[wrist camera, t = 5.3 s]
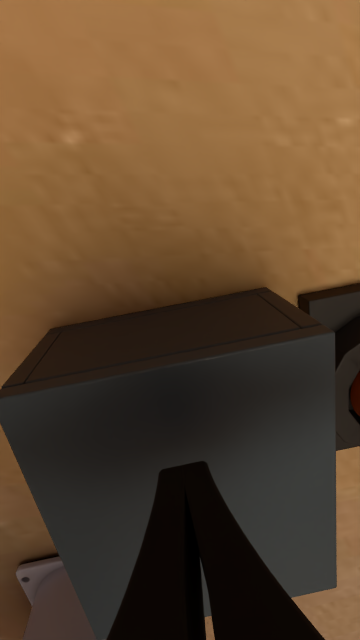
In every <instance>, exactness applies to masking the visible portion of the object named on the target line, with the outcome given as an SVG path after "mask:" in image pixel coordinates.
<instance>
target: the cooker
mask: <svg viewBox="0 0 360 640" xmlns="http://www.w3.org/2000/svg"><path fill="white" fill-rule="evenodd" d="M319 325H322V324H321V323H320V322H319V321H317V320H316V319H314V318H313V317H311V316H310V315H308V314H306V313H305V312H303V311H302V310H300V309H299V308H297V307H296V306H294V305H293V304H291V303H289V302H288V301H286V300H285V299H283V298H282V297H280V296H279V295H277V294H276V293H274V292H272V291H271V290H270V289H268V288H261V289H255V290H250V291H245V292H240V293H235V294H230V295H224V296H219V297H214V298H209V299H204V300H199V301H194V302H188V303H183V304H178V305H173V306H168V307H163V308H157V309H152V310H147V311H142V312H137V313H132V314H127V315H121V316H116V317H111V318H106V319H101V320H96V321H90V322H85V323H80V324H75V325H70V326H65V327H60V328H54V329H50V330H49V332H48V333H47V334H46V335H45V336H44V337H43V339H42V340H41V341H40V342H39V343H38V345H37V346H36V347H35V348H34V349H33V350H32V352H31V353H30V354H29V355H28V356H27V358H26V359H25V360H24V361H23V362H22V363H21V365H20V366H19V367H18V368H17V369H16V371H15V372H14V373H13V374H12V375H11V376H10V378H9V379H8V380H7V381H6V382H5V384H4V385H3V386H2V388H7V387H12V386H17V385H22V384H27V383H33V382H38V381H43V380H48V379H53V378H58V377H63V376H68V375H73V374H78V373H83V372H88V371H93V370H98V369H103V368H108V367H113V366H118V365H123V364H128V363H133V362H138V361H143V360H148V359H153V358H158V357H163V356H168V355H173V354H179V353H184V352H189V351H194V350H199V349H204V348H209V347H214V346H219V345H224V344H229V343H234V342H239V341H244V340H249V339H254V338H259V337H264V336H269V335H274V334H279V333H284V332H289V331H294V330H299V329H304V328H309V327H314V326H319Z"/></svg>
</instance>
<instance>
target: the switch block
mask: <svg viewBox="0 0 360 640" xmlns="http://www.w3.org/2000/svg"><path fill="white" fill-rule="evenodd" d="M299 307H300V310H302V311H303V312H305V313H306V314H308V315H310V316H311V317H313V318H314V319H316V320H317V321H319V322H320V323H321V324H322V325H325V326H326V327H328V328H329V329H331V330H332V331H334V333H335V412H336V451H338V450H343V449H348V448H352V447H357V446H360V416H359V415H358V414H357V413H356V412H355V411H354V409H353V407H352V404H351V398H350V393H351V387H352V384H353V381H354V379H355V377H356V376H357V374H358V372H359V371H360V284H356V285H350V286H345V287H340V288H335V289H330V290H325V291H320V292H315V293H310V294H304V295H300V296H299Z"/></svg>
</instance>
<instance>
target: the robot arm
mask: <svg viewBox="0 0 360 640" xmlns="http://www.w3.org/2000/svg"><path fill="white" fill-rule="evenodd" d="M200 559H201V563H202V567H203V572H204V576H205V580H206V584H207V589H208V595H209V602H210V608H211V615H212V622H213V629H214V636H215V640H325V639H324V638H323V637H322V636H321V634H320V633H319V632H318V631H317V630H316V628H315V627H314V626H313V625H312V623H311V622H310V621H309V620H308V619H307V617H306V616H305V615H304V614H303V613H302V611H301V610H300V609H299V608H298V606H297V605H296V604H295V603H294V601H293V600H292V599H291V598H290V596H289V595H288V594H287V592H286V591H285V590H284V589H283V587H282V586H281V585H280V583H279V582H278V581H277V579H276V578H275V577H274V575H273V574H272V573H271V571H270V570H269V569H268V567H267V566H266V564H265V563H264V562H263V560H262V559H261V557H260V556H259V554H258V553H257V552H256V550H255V549H254V547H253V546H252V544H251V543H250V541H249V540H248V538H247V537H246V535H245V534H244V532H243V531H242V529H241V528H240V526H239V524H238V523H237V521H236V519H235V518H234V516H233V515H232V513H231V511H230V510H229V508H228V506H227V505H226V503H225V501H224V499H223V497H222V495H221V494H220V492H219V490H218V488H217V486H216V484H215V482H214V479H213V477H212V475H211V472H210V470H209V467H208V464H207V463H206V462H205V461H199V462H194V463H189V464H185V465H180V466H175V467H170V468H165V469H162V470H161V471H160V472H159V475H158V482H157V488H156V493H155V498H154V502H153V506H152V510H151V514H150V518H149V521H148V525H147V528H146V532H145V535H144V539H143V542H142V545H141V549H140V552H139V555H138V558H137V560H136V563H135V566H134V569H133V572H132V575H131V578H130V581H129V584H128V586H127V589H126V592H125V595H124V597H123V600H122V602H121V605H120V608H119V610H118V613H117V615H116V618H115V620H114V623H113V625H112V627H111V630H110V632H109V635H108V637H107V639H104V640H206V631H205V617H204V604H203V590H202V577H201V564H200ZM16 577H17V579H18V580H19V582H20V584H21V586H22V588H23V590H24V592H25V594H26V596H27V598H28V600H29V601H30V603H31V605H32V609H31V613H30V616H29V619H28V623H27V626H26V630H25V633H24V636H23V640H97V639H96V637H95V635H94V632H93V630H92V628H91V626H90V623H89V621H88V619H87V617H86V615H85V612H84V610H83V608H82V606H81V603H80V601H79V599H78V597H77V594H76V592H75V590H74V588H73V585H72V583H71V581H70V579H69V576H68V574H67V572H66V570H65V567H64V565H63V563H62V561H61V558H60V556H59V557H54V558H49V559H45V560H40V561H35V562H31V563H26V564H22V565H20V566H19V567H18V569H17V571H16Z"/></svg>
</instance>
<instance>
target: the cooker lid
mask: <svg viewBox="0 0 360 640" xmlns="http://www.w3.org/2000/svg"><path fill="white" fill-rule="evenodd" d="M0 423H1V426H2V428H3V430H4V432H5V435H6V437H7V439H8V441H9V444H10V446H11V448H12V450H13V453H14V455H15V457H16V459H17V462H18V464H19V466H20V468H21V471H22V473H23V475H24V477H25V480H26V482H27V484H28V486H29V489H30V491H31V493H32V495H33V498H34V500H35V502H36V504H37V507H38V509H39V511H40V513H41V516H42V518H43V520H44V522H45V525H46V527H47V529H48V531H49V534H50V536H51V538H52V540H53V543H54V545H55V547H56V549H57V552H58V554H59V556H60V558H61V561H62V563H63V565H64V567H65V570H66V572H67V574H68V576H69V579H70V581H71V583H72V585H73V588H74V590H75V592H76V594H77V597H78V599H79V601H80V603H81V606H82V608H83V610H84V612H85V615H86V617H87V619H88V621H89V623H90V626H91V628H92V630H93V632H94V635H95V637H96V639H97V640H104V639H107V637H108V635H109V632H110V630H111V627H112V625H113V623H114V620H115V618H116V615H117V613H118V610H119V608H120V605H121V602H122V600H123V597H124V595H125V592H126V589H127V586H128V584H129V581H130V578H131V575H132V572H133V569H134V566H135V563H136V560H137V558H138V555H139V552H140V549H141V545H142V542H143V539H144V535H145V532H146V528H147V525H148V521H149V518H150V514H151V510H152V506H153V502H154V498H155V493H156V488H157V482H158V475H159V472H160V471H161V470H162V469H165V468H170V467H175V466H180V465H185V464H189V463H194V462H199V461H205V462H206V463H207V464H208V467H209V470H210V472H211V475H212V477H213V479H214V482H215V484H216V486H217V488H218V490H219V492H220V494H221V495H222V497H223V499H224V501H225V503H226V505H227V506H228V508H229V510H230V511H231V513H232V515H233V516H234V518H235V519H236V521H237V523H238V524H239V526H240V528H241V529H242V531H243V532H244V534H245V535H246V537H247V538H248V540H249V541H250V543H251V544H252V546H253V547H254V549H255V550H256V552H257V553H258V554H259V556H260V557H261V559H262V560H263V562H264V563H265V564H266V566H267V567H268V569H269V570H270V571H271V573H272V574H273V575H274V577H275V578H276V579H277V581H278V582H279V583H280V585H281V586H282V587H283V589H284V590H285V591H286V592H287V594H288V595H289V596H290V598H292V597H297V596H301V595H306V594H310V593H315V592H319V591H323V590H328V589H332V588H336V587H337V575H336V412H335V333H334V331H332V330H331V329H329V328H328V327H326V326H325V325H319V326H314V327H309V328H304V329H299V330H294V331H289V332H284V333H279V334H274V335H269V336H264V337H259V338H254V339H249V340H244V341H239V342H234V343H229V344H224V345H219V346H214V347H209V348H204V349H199V350H194V351H189V352H184V353H179V354H173V355H168V356H163V357H158V358H153V359H148V360H143V361H138V362H133V363H128V364H123V365H118V366H113V367H108V368H103V369H98V370H93V371H88V372H83V373H78V374H73V375H68V376H63V377H58V378H53V379H48V380H43V381H38V382H33V383H27V384H22V385H17V386H12V387H7V388H2V389H0ZM200 564H201V577H202V590H203V604H204V617H207V616H212V615H211V608H210V602H209V595H208V589H207V584H206V580H205V576H204V572H203V567H202V563H201V559H200Z"/></svg>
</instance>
